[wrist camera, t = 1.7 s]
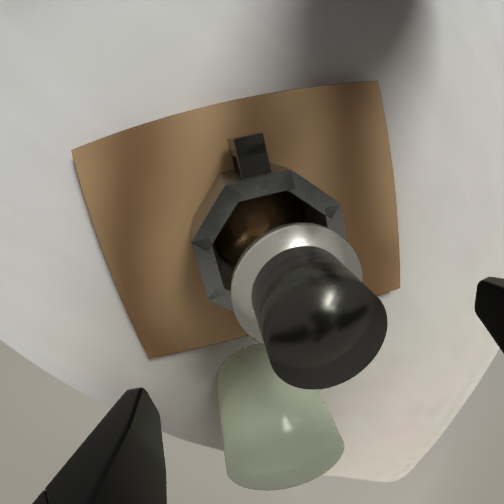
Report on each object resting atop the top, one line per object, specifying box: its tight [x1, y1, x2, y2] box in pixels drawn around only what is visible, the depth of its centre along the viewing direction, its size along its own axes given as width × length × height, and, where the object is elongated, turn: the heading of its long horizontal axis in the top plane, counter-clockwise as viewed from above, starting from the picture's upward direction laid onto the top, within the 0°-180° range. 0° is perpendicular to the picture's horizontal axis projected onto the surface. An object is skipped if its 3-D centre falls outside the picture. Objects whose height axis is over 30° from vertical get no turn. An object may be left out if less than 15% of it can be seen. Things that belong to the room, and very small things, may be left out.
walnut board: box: [71, 81, 400, 359], centre depth 19 cm, size 18×14×1 cm
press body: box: [191, 133, 346, 311], centre depth 16 cm, size 7×8×5 cm
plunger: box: [231, 222, 387, 390], centre depth 11 cm, size 4×4×7 cm
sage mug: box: [217, 343, 344, 490], centre depth 20 cm, size 7×9×8 cm
